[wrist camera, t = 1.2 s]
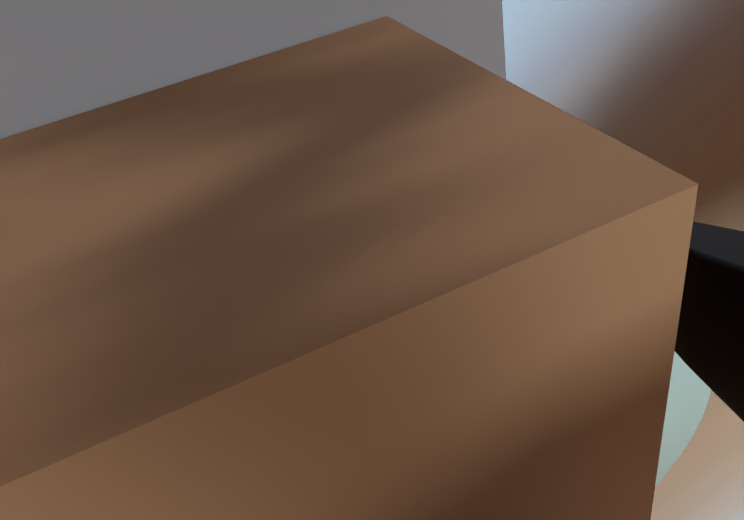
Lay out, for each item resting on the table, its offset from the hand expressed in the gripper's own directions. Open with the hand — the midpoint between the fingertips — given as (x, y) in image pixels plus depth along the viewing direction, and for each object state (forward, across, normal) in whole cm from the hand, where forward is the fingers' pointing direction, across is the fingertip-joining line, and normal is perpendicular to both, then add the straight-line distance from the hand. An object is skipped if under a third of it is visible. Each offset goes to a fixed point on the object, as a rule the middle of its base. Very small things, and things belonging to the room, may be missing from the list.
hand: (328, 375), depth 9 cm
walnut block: (+3, 0, 0) cm, 3 cm away
